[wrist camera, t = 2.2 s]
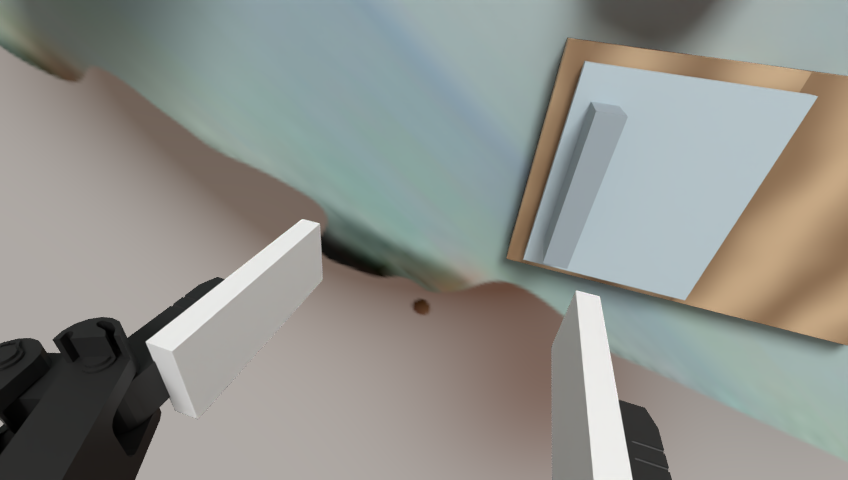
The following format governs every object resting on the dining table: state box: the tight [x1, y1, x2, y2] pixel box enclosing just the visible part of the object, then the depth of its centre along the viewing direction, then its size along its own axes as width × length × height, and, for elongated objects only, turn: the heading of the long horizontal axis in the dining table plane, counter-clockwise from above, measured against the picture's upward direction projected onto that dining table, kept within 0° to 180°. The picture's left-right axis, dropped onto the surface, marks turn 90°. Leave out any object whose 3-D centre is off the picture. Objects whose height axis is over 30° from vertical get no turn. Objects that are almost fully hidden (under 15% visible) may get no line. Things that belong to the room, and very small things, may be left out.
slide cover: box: [523, 61, 818, 300], centre depth 23 cm, size 12×14×4 cm
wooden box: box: [506, 38, 848, 345], centre depth 24 cm, size 26×16×2 cm, turn 82°
